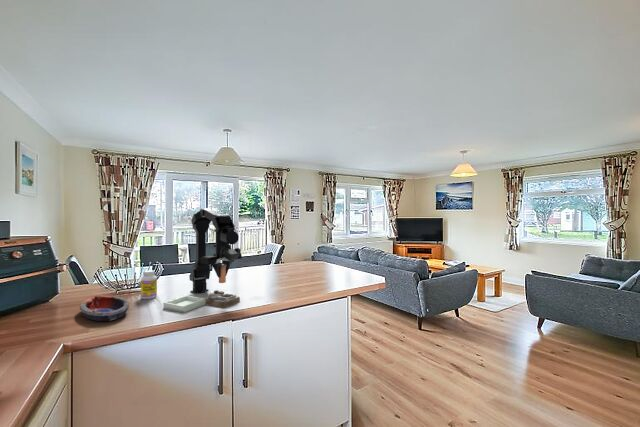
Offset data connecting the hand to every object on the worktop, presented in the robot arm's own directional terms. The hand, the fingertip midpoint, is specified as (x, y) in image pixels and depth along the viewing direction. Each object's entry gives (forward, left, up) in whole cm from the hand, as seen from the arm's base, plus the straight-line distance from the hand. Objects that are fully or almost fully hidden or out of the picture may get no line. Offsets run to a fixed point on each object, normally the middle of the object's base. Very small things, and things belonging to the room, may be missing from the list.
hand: (222, 276), depth 133 cm
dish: (-35, -30, -13) cm, 48 cm away
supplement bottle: (-39, -8, -13) cm, 42 cm away
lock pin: (0, 0, -3) cm, 3 cm away
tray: (-12, -10, -12) cm, 20 cm away
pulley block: (-2, +1, -12) cm, 13 cm away
